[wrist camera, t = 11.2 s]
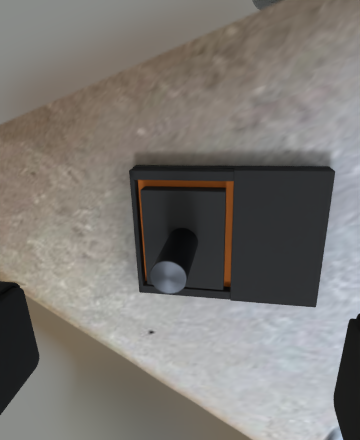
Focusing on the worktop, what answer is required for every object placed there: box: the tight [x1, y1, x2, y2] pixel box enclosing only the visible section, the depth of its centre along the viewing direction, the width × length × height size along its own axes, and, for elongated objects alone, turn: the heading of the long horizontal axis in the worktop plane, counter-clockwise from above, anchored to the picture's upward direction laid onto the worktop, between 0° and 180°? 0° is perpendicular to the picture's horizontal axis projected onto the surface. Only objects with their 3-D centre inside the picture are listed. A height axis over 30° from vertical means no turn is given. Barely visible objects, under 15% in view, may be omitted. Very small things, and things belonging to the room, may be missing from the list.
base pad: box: [129, 165, 335, 307], centre depth 28 cm, size 12×16×2 cm
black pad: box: [140, 186, 226, 294], centre depth 25 cm, size 9×7×7 cm
